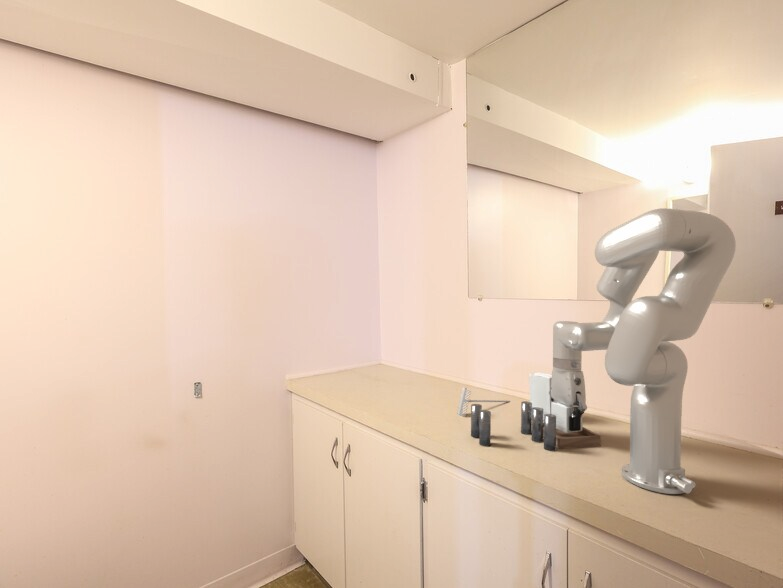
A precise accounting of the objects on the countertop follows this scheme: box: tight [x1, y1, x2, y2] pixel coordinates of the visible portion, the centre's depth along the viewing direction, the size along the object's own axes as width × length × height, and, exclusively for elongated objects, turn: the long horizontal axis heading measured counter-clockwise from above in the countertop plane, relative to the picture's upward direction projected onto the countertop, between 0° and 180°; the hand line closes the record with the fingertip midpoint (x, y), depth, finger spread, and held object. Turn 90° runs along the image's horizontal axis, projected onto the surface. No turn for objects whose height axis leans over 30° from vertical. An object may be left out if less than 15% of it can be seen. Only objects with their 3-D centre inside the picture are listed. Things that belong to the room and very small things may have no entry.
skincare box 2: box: [551, 401, 583, 433], centre depth 112 cm, size 6×6×7 cm
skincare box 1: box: [528, 371, 552, 422], centre depth 130 cm, size 8×6×15 cm
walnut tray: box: [543, 422, 602, 449], centre depth 112 cm, size 13×13×3 cm
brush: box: [456, 387, 511, 418], centre depth 140 cm, size 4×28×9 cm, turn 125°
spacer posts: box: [470, 400, 557, 452], centre depth 109 cm, size 15×19×9 cm
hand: (566, 425), depth 112 cm, fingers closed on skincare box 2, 6 cm apart
